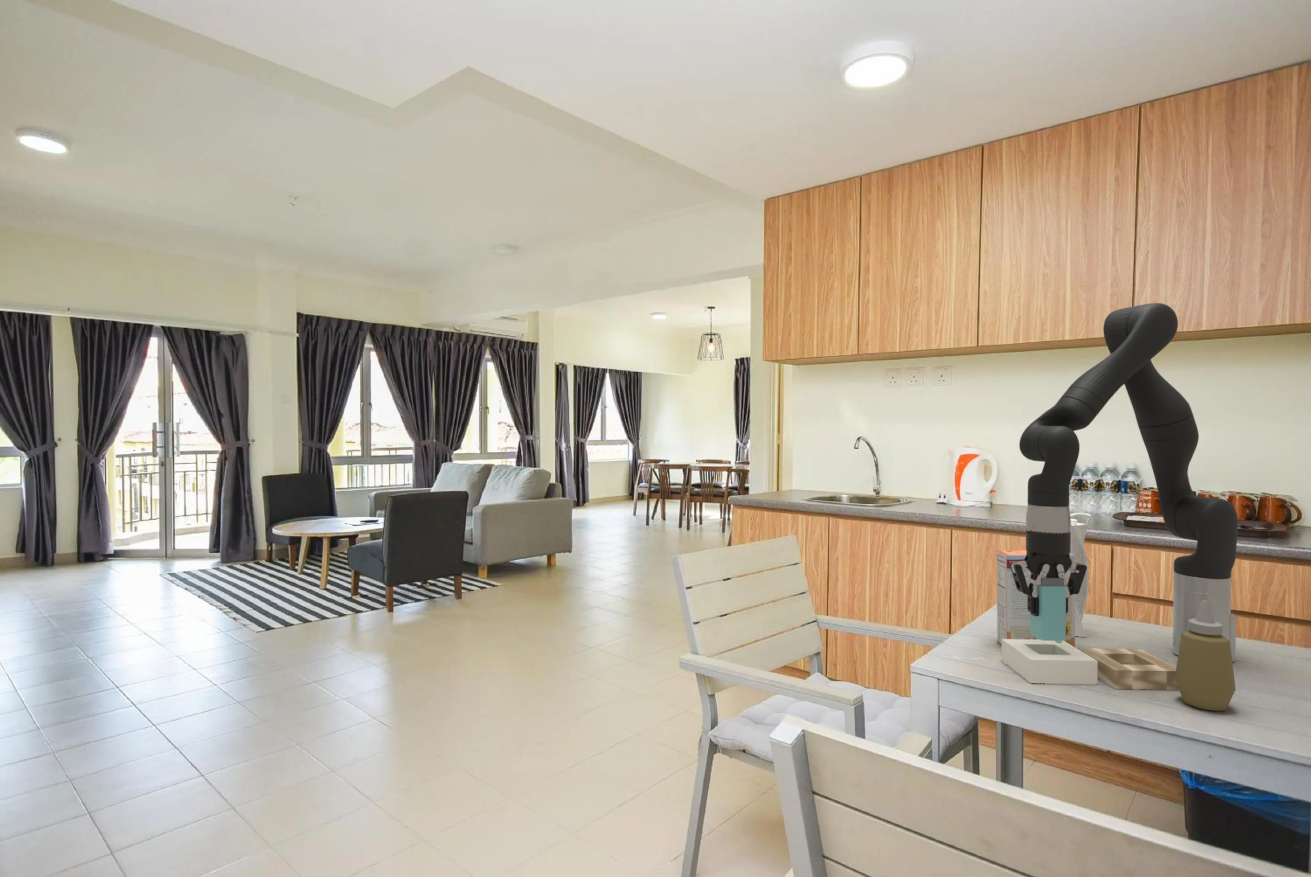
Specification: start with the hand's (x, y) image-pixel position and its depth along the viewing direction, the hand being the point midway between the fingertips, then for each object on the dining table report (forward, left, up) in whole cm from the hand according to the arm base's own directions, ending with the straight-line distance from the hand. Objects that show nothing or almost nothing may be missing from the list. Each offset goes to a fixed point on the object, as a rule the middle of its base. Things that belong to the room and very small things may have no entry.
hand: (1047, 614), depth 130 cm
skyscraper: (-18, -25, -11) cm, 33 cm away
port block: (0, 0, -11) cm, 11 cm away
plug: (0, 0, -4) cm, 4 cm away
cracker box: (-5, -15, -12) cm, 20 cm away
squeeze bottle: (-19, +14, -11) cm, 26 cm away
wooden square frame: (-14, +2, -11) cm, 18 cm away
